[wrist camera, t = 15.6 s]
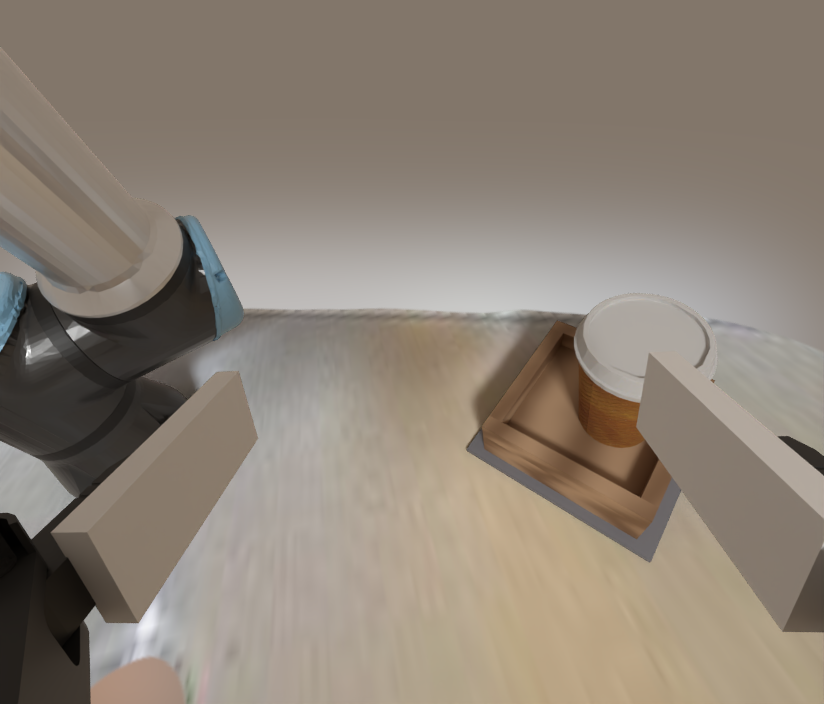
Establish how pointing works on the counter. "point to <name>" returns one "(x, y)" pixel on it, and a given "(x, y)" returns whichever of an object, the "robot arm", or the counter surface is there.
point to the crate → (572, 441)
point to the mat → (640, 546)
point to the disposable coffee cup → (632, 358)
